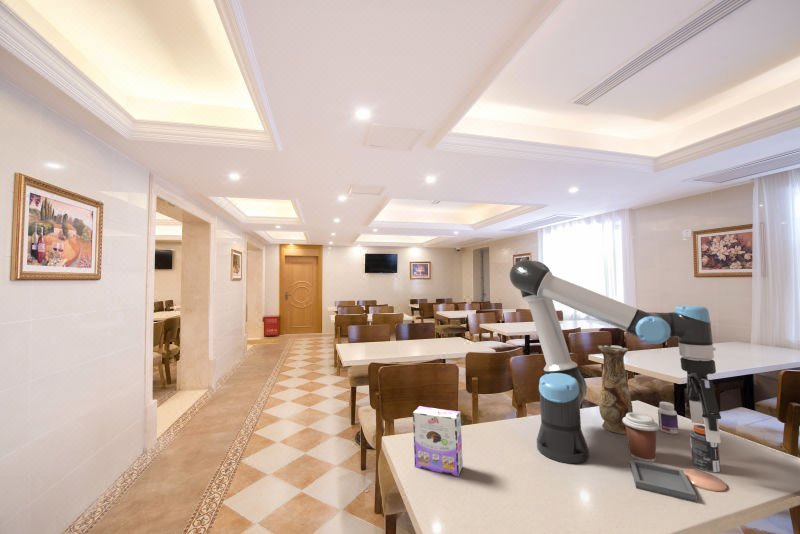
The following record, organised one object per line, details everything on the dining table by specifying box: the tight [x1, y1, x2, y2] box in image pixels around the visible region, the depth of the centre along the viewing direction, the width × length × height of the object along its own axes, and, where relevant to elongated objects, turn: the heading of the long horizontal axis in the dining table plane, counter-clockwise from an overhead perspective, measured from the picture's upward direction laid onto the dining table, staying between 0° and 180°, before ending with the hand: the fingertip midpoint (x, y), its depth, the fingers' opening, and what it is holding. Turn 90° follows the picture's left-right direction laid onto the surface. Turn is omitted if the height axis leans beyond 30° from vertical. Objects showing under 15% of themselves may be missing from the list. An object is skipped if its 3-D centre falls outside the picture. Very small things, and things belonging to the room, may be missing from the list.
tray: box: [629, 459, 698, 504], centre depth 85 cm, size 12×12×2 cm
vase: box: [597, 344, 634, 435], centre depth 118 cm, size 10×11×30 cm
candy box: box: [412, 405, 464, 477], centre depth 95 cm, size 14×6×16 cm, turn 65°
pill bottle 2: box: [689, 424, 721, 473], centre depth 92 cm, size 6×6×11 cm
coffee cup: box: [622, 411, 660, 463], centre depth 98 cm, size 9×9×12 cm
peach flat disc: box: [682, 468, 727, 493], centre depth 85 cm, size 9×9×1 cm
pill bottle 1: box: [657, 401, 680, 435], centre depth 114 cm, size 5×5×10 cm
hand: (705, 431), depth 92 cm, fingers open, 13 cm apart
